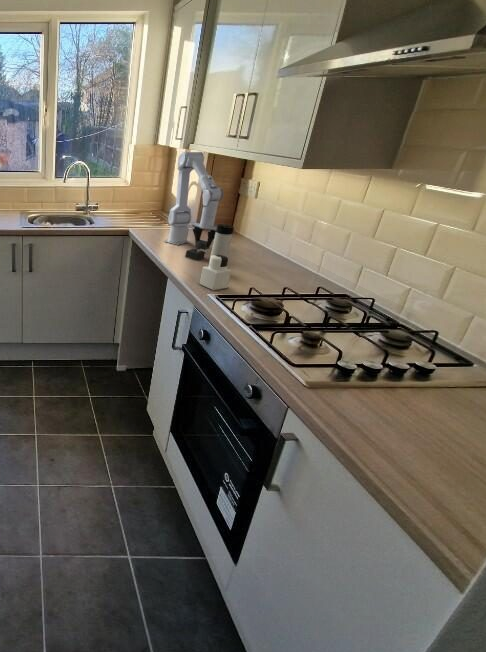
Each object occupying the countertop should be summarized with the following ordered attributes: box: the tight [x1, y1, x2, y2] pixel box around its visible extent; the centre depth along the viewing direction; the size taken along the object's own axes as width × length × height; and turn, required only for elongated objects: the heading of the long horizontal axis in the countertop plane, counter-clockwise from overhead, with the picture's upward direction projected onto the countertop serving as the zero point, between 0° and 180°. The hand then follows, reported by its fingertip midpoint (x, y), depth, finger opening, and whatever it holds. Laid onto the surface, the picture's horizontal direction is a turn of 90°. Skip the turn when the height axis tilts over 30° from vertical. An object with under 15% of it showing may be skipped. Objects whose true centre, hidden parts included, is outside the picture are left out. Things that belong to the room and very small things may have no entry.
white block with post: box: [199, 255, 232, 291], centre depth 156 cm, size 7×7×12 cm
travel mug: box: [210, 224, 235, 258], centre depth 169 cm, size 6×7×20 cm
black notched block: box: [185, 248, 206, 261], centre depth 190 cm, size 6×6×3 cm
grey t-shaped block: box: [194, 239, 211, 251], centre depth 190 cm, size 6×5×3 cm
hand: (202, 245), depth 191 cm, fingers closed on grey t-shaped block, 5 cm apart
